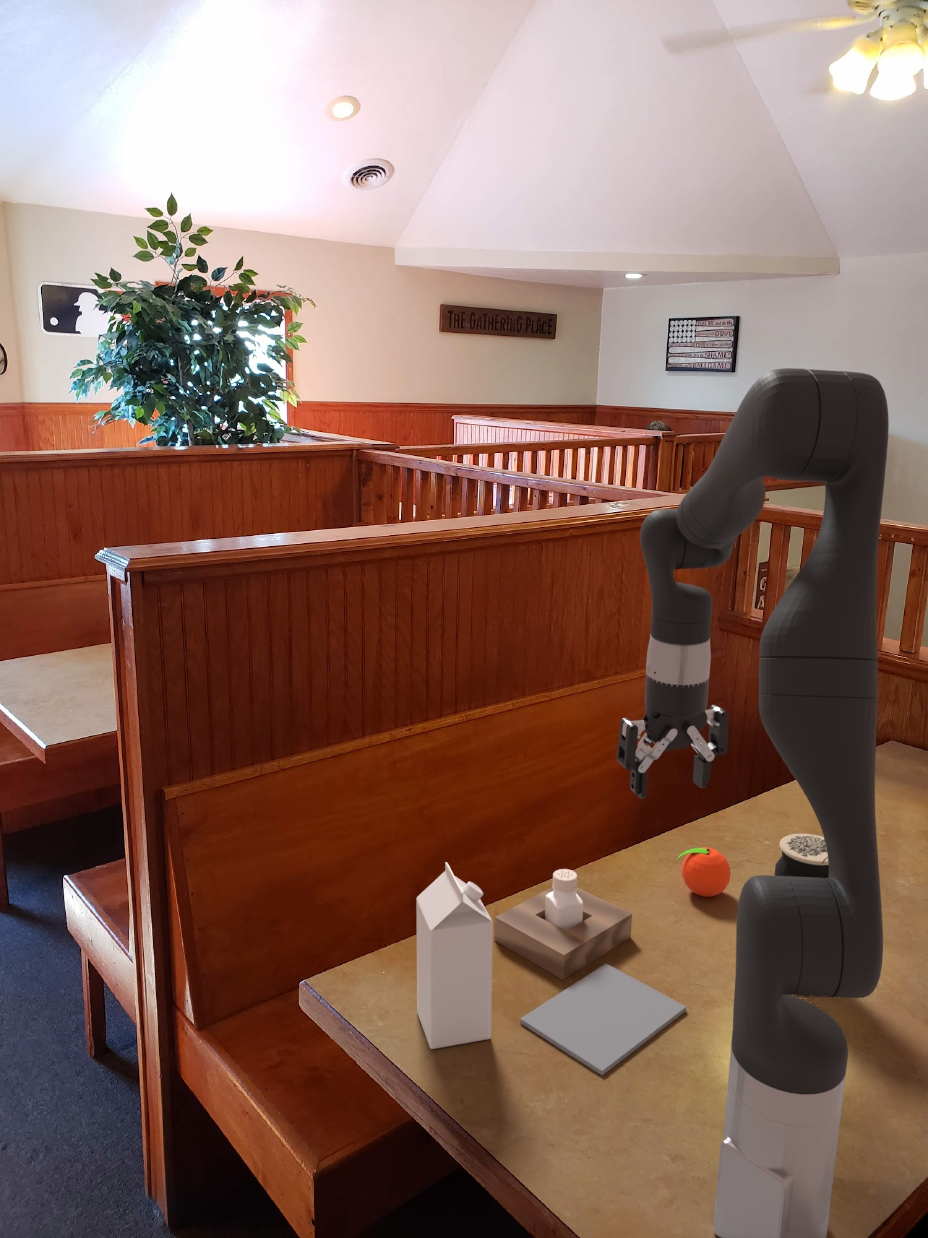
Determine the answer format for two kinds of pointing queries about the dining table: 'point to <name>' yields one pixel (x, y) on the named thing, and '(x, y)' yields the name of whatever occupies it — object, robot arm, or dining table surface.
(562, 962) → the shaker holder
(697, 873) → the clementine
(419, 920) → the milk carton
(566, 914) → the salt shaker
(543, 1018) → the placemat
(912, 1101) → the dining table surface
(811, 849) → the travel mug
